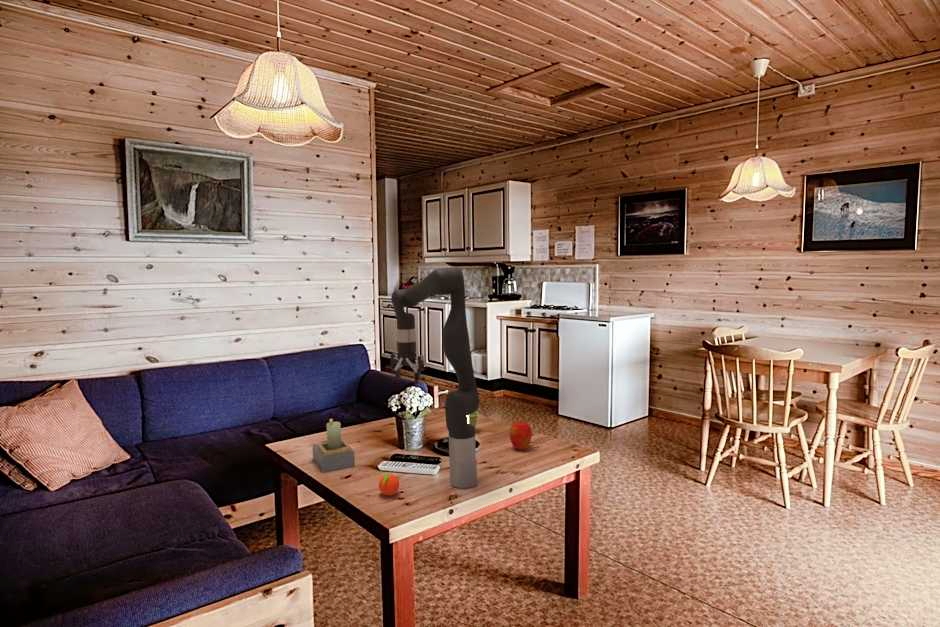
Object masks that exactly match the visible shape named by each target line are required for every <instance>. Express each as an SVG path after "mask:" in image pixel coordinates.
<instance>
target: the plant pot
mask: <svg viewBox="0 0 940 627" xmlns="http://www.w3.org/2000/svg"><path fill="white" fill-rule="evenodd" d="M478 416H479V412H477V411H475V412H474V413H472V414H470V424H471V425H473V426H474V427H475V429H476V427H477V420H478Z"/></svg>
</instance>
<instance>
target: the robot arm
mask: <svg viewBox="0 0 940 627" xmlns="http://www.w3.org/2000/svg"><path fill="white" fill-rule="evenodd" d="M447 295H450V309H449V313H448V316H447V318H446V320H445V323H444V325H443V327H442V332H441V339H442V340H441V341H442V347H443V353H444V355H445V358H446V360H447V361H448V363H449V364H450V365H451V367H452V368H453V370H454V372H455V375H456V378H457V384H458V389H457V390H453V391H450V392H448V393H447V395H446V396H445V400H444V413H445V424H446V428H447V429H446V430H447V431H448V454H449V455H448V456H449V465H448V466H449V484H450V486H452V487H455V488H458V489H461V490H462V489H467V488H471V487H475V486H478V471H477V468H478V466H477V464H478V463H477V456H476V455H477V451H476V449H477V448H476V445H477V444H476V428H475V427H474V426H473V425H471V424H467V417H466V415H469V414H472V413H474V412H477V410H478V409H479V406H480V396H479V391H478V386H477V383H476V377H475V373H474V367H473V360H472V354H471V344H470V342H471V341H470V336H469V335H470V334H469V329H468V323H467V322H468V320H467V311H466V289H465V278H464V274H463V271H462V270H461V269H460V267H457V266H456V267H455V266H453V267H441V268H436V269H433V270H432V271H431V272H430V273H429V274H428V275H427V276H425V277H424V278H423V279H422V280H420V281H418V282H416V283H414V284H412V285H409V286H408V287H407V288H405V289H403V288H402V289H395V290H394V291H393V292H392V293H391V298H390V299H391V304H392V307H393V310H394V313H395V317H396V318H395V319H396V350H397V351H396V352H397V353H396V352H394V353H391V354H390V369H391V370H394V376H395V379H396V381H400V380H401V377H402V376H401V375H402V373H401V372H402V370H401V368H402V367H405V366H406V367H410V368H411V369H412V370H413V372H414V373H413V374H414V382H415V383H418V382H420V379H421V372H422V371H425V359H424V355H417V334H416V318H415V315H414V314H413V313H410V312H406V311H405V309H404V308H410V307H411V308H413V307H416V306H418V305H419V304H420V303H422V302H424V301H426V300H427V299H429V298H430V297H431V296H447ZM397 360H398V361H397Z"/></svg>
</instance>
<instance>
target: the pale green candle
mask: <svg viewBox="0 0 940 627" xmlns="http://www.w3.org/2000/svg"><path fill="white" fill-rule="evenodd" d="M333 420H334V419H333V418H330V419H329V422H327V423H326V437H327V438H326V439H327V440H326V442H327V445H328V450H333V449H338V448H342V446H341V440H342V428H341V426H342V424H341V422H340V421H333Z"/></svg>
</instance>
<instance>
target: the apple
mask: <svg viewBox="0 0 940 627" xmlns="http://www.w3.org/2000/svg"><path fill="white" fill-rule="evenodd" d="M508 432H509V433H508V434H509V439H510V442H511V445H512V446H513V447H514V448H515V449H516V450H518V451H524V450H526V448H528V447H529V445H530V443H531V440H532V437H533V436H532V434H533V432H532V429H531V425H530V424H529V423H528V422H525V421H521V420H520V421H519V420H518V421H515V422H514V423H513V424H511V425H510V428H509V431H508Z"/></svg>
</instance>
